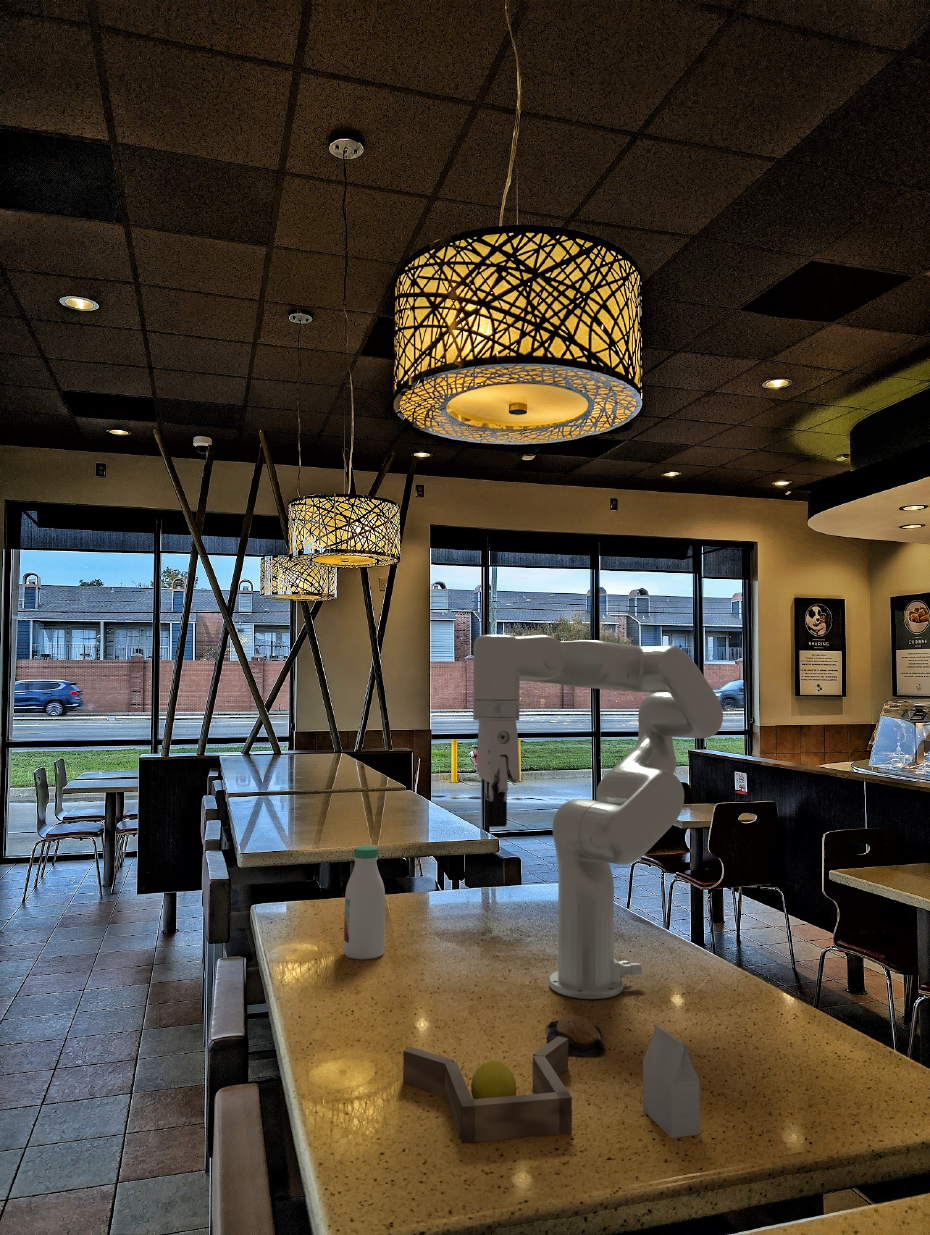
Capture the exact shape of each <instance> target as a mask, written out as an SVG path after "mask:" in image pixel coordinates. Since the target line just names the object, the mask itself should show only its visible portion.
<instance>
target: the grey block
mask: <svg viewBox="0 0 930 1235" xmlns="http://www.w3.org/2000/svg"><path fill="white" fill-rule="evenodd" d="M642 1059H643V1060H642V1099H643V1100H642V1111H643V1112H644V1113H645V1114H646V1115H647V1116H648V1117H650V1119H651V1120H652V1121H653V1122H655V1123H656V1124H657V1125H658V1127H659V1128H660V1129H661V1130H662V1131H663V1132H664V1133H666V1134H667V1136H669V1137H670V1138H671V1139H677V1138H682V1137H688V1136H694V1135H695V1136H696V1135H700V1133H701V1131H700V1130H701V1120H700V1119H701V1116H700V1111H701V1110H700V1108H701V1107H700V1105H701V1103H700V1101H701V1100H700V1098H701V1097H700V1080H699V1077H698V1074H697V1072H696V1070H695V1067H694V1065H693V1063H692V1061H691V1058H690V1054H689V1050H688V1047H687V1045H686V1044H684V1043H683V1042H682V1041H680V1040H679V1039H677V1037H675V1036H674V1035H673V1034H671V1033H670V1032H668V1031H667V1030H666V1029H664V1028H663V1027H662V1026H660V1025H659V1024H655V1025H654V1030H653V1033H652V1037H651V1039H650V1042H649V1045H648V1047H647V1050H646V1052H645V1054H644V1057H643V1058H642Z"/></svg>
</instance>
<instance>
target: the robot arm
mask: <svg viewBox="0 0 930 1235" xmlns="http://www.w3.org/2000/svg"><path fill="white" fill-rule="evenodd" d="M520 682H527V683H528V682H529V683H530V682H531V683H541V684H542V683H543V684H553V685H554V684H555V685H562V686H569V687H574V688H584V689H585V688H587V689H597V690H598V689H600V690H610V691H611V690H612V691H622V692H633V693H634V692H635V693H650V694H648V695H647V696H646V697H645V698H644V699H643V700H642V701H641V703H640V705H639V708H638V715H637V717H638V718H637V719H638V720H637V721H638V739H637V742H636V744H635V745H634V747H633V749H631V750H630V752H629V753H627V754H626V756H624V757H623V758H622V759H621V760H620V761H619V762H618V763H616V765H614V767H613V768H611V769H610V770H609V771H608V772H607V773H606V774H605V775H604V776H603V778H602V779H601V780H600V782H599V783H598V785H597V788H596V800H591V799H584V798H577V799H571V800H568V801H566V802H565V803H563V804H562V805H561V806H560V807H559V808H558V809H557V811H556V812H555V815H554V817H553V821H552V836H553V841H554V847H555V848H554V849H555V852H556V859H557V871H558V872H557V874H558V878H557V880H558V896H557V897H558V902H557V905H558V907H557V911H558V912H557V913H558V920H557V921H558V922H557V924H558V925H557V926H558V927H557V928H558V929H557V931H558V934H557V935H558V936H557V939H558V940H557V942H558V944H557V946H558V947H557V948H558V949H557V950H558V951H557V959H558V960H557V962H558V963H557V968H558V970H557V971H555V972H553V973H552V974H550V975H549V978H548V985H549V987H550V988H551V989H552V990H553V991H555V992H556V993H557V994H560V995H563V996H565V997H568V998H575V999H581V1000H582V999H583V1000H600V999H607V998H612V997H615V996H617V995H619V994H621V993H622V992H623V990H624V981H623V979H624V978H625V976H630V977H631V976H642V965H641V963H639V962H638V963H635V962H634V963H629V961H628V960H620V961H618V960H617V959H616V958H615V916H614V915H615V913H614V912H615V907H614V906H615V904H614V903H615V901H614V900H615V886H614V885H615V882H614V875H613V872H612V869H611V867H610V864H615V865H621V866H622V865H623V866H626V865H632V864H633V863H635V862H637V861H638V860H640V859H641V858H642V857H643V856H644V855H645V854H647V853H648V851H649V850H650V849H652V848H653V846H654V845H656V843H657V842H658V841H659V840H660V839H661V838H662V837H663V836H664V835H665V834H666V833H667V832H668V831H669V829H670V828H671V827H672V826H673V825H674V824H675V823H676V822H677V820H678V818H679V816H680V814H681V813H682V810H683V806H684V802H685V790H684V787H683V784H682V782H681V780H680V779H679V777H677V776H676V774H674V773H675V772H676V768H677V757H676V754H675V749H674V740H673V737H677V738H689V739H690V738H691V739H707V738H708V739H709V738H711V737H713V736H715V735H716V734H717V733H718V732H719V730H721V727H722V725H723V722H724V710H723V706H722V703H721V702H720V698H719V697H718V696H717V694H716V692H715V691H714V690H713V688H712V687H711V685H710V683H709V682H708V681H707V679H706V677H705V676H704V674H703V673H702V671H701V669H700V668H699V667H698V666H697V664H696V663H695V662H694V660H693V659H692V657H690V656H689V655H688V653H687V652H685V651H684V650H683V649H682V648H680V647H678V646H675V645H655V646H653V645H652V646H648V645H647V646H645V645H644V646H643V645H633V644H626V643H625V644H624V643H617V642H610V641H602V640H594V639H593V640H588V639H587V640H585V639H584V640H583V639H581V640H572V641H570V640H569V641H568V640H567V641H560V640H558V639H557V638H556V637H554V636H550V635H547V634H546V635H545V634H538V635H537V634H532V635H509V634H483V635H479V636H478V637H476V638H475V640H474V642H473V687H472V688H473V693H472V694H473V702H472V703H473V704H472V707H473V709H472V710H473V712H472V714H473V716H472V717H473V718H472V720H473V721H478V733H477V735H478V736H477V738H478V739H477V774H478V776H479V777H480V778H481V779H482V780H484V788H485V789H484V791H485V792H484V794H485V800H484V803H485V804H484V824H485V825H486V826H487V827H488V828H497V827H506V826H507V824H508V823H507V822H508V808H507V807H508V801H507V800H508V790H509V787H508V784H509V783H508V782H510V783H513V784H517V783H518V782H520V758H519V757H520V756H519V753H520V752H519V739H518V738H519V737H518V727H517V721H520V709H521V708H520V706H521V704H520V703H521V702H520V699H521V698H520V693H521V692H520V689H521V688H520ZM609 863H610V864H609Z"/></svg>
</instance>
